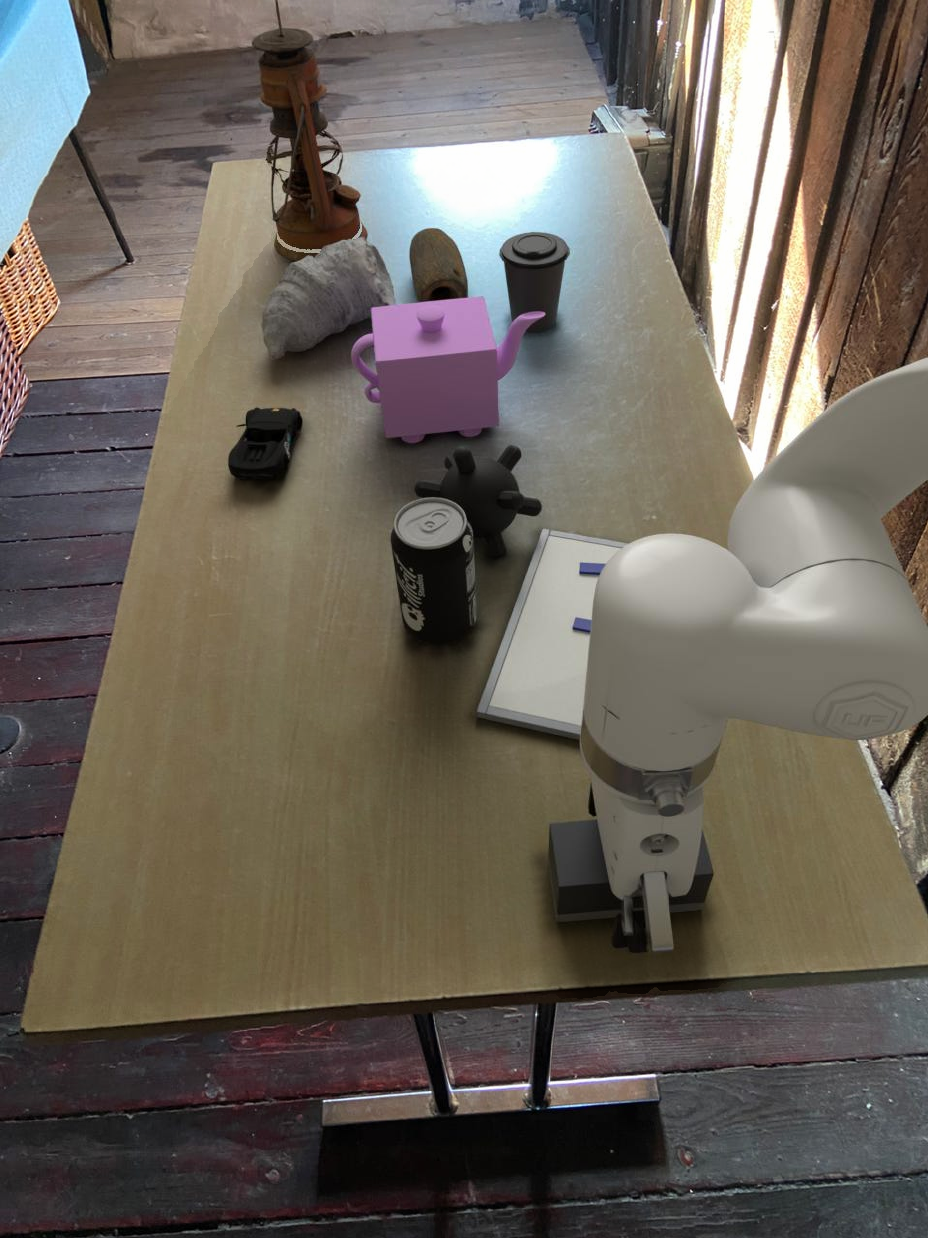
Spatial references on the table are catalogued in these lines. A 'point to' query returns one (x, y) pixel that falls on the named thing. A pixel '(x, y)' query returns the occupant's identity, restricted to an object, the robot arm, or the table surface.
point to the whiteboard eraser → (603, 875)
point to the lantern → (303, 147)
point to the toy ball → (483, 493)
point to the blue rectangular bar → (582, 624)
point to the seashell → (325, 296)
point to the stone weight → (437, 267)
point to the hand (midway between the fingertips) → (622, 873)
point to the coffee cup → (534, 275)
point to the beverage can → (435, 570)
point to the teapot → (438, 366)
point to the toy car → (265, 443)
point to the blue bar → (591, 568)
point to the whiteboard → (547, 639)
